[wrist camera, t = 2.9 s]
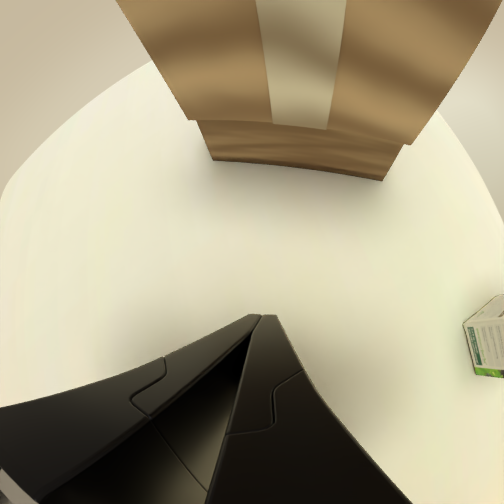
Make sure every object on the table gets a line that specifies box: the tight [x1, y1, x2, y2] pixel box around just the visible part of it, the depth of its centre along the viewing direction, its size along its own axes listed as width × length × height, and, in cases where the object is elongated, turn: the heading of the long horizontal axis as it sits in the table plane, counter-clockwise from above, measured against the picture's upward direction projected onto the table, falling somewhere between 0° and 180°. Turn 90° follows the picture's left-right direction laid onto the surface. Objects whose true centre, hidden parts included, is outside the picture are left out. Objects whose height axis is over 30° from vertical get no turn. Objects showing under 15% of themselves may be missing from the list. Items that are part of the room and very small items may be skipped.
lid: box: [116, 0, 502, 145], centre depth 10 cm, size 14×16×1 cm
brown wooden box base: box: [196, 120, 404, 181], centre depth 22 cm, size 14×16×7 cm
